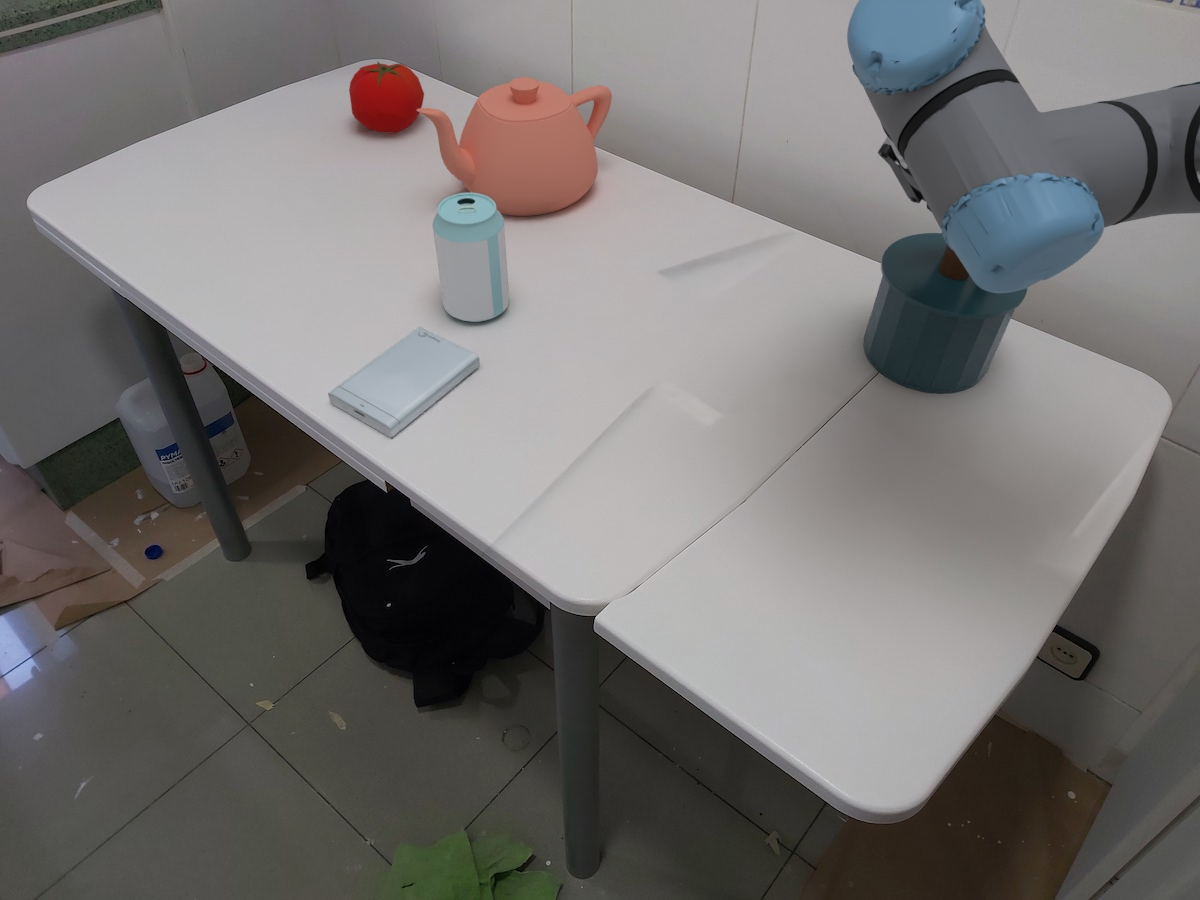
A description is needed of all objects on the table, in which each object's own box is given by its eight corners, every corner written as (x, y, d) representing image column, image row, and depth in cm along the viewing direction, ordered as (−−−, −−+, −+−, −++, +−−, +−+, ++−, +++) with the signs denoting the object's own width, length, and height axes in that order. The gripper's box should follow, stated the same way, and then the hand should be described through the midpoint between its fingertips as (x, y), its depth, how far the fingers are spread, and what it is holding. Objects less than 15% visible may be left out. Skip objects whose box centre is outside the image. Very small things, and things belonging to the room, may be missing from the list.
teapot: (456, 246, 103) (443, 136, 93) (405, 180, 113) (389, 76, 103) (640, 195, 111) (646, 90, 102) (577, 138, 121) (578, 38, 112)
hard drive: (418, 324, 90) (326, 390, 83) (479, 355, 87) (389, 426, 80) (420, 337, 91) (330, 403, 84) (480, 368, 88) (392, 439, 81)
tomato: (340, 128, 122) (328, 67, 116) (397, 103, 128) (388, 44, 122) (385, 150, 118) (374, 88, 112) (441, 123, 124) (434, 63, 118)
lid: (1048, 282, 85) (1087, 197, 78) (980, 344, 78) (1017, 256, 71) (924, 227, 91) (951, 144, 84) (852, 280, 84) (875, 194, 78)
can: (430, 306, 95) (415, 206, 86) (480, 278, 98) (470, 180, 90) (473, 335, 91) (462, 235, 83) (523, 306, 95) (517, 207, 86)
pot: (1008, 353, 91) (1043, 276, 84) (948, 411, 85) (980, 334, 78) (903, 301, 97) (928, 225, 90) (839, 352, 91) (861, 274, 84)
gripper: (821, 136, 68) (882, 238, 89) (1022, 220, 61) (1040, 311, 81) (874, 47, 67) (925, 171, 88) (1088, 121, 59) (1088, 239, 80)
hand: (980, 238), depth 84 cm, fingers open, 4 cm apart
